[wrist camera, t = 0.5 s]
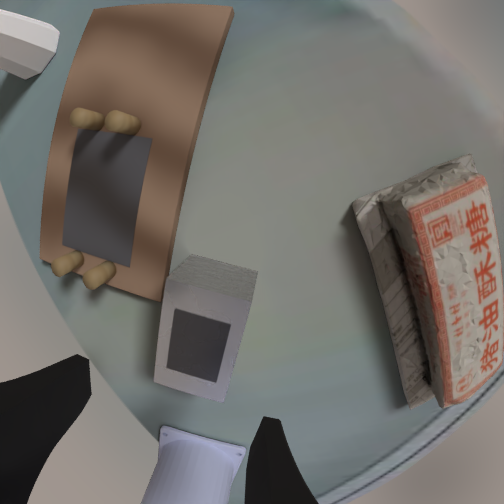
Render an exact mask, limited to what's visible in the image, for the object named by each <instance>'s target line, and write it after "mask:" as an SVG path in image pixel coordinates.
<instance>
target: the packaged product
mask: <svg viewBox="0 0 504 504" xmlns="http://www.w3.org/2000/svg"><path fill="white" fill-rule="evenodd" d="M352 206H353V210H354V213H355V217H356V220H357V223H358V227H359V229H360V231H361V234H362V236H363V238H364V241H365V243H366V246H367V248H368V251H369V255H370V258H371V262H372V266H373V270H374V274H375V278H376V282H377V286H378V289H379V292H380V296H381V299H382V303H383V307H384V311H385V315H386V319H387V323H388V327H389V332H390V335H391V339H392V344H393V348H394V351H395V356H396V360H397V364H398V368H399V373H400V377H401V381H402V386H403V391H404V394H405V397H406V399H407V402H408V405H409V408H410V410H411V409H413V408H415V407H417V406H419V405H421V404H423V403H425V402H427V401H428V400H430V399H432V398H434V397H436V399H437V401H438V404H439V406H440V407H441V408H443V409H444V408H446V407H450V406H452V405H455V404H460V403H462V402H464V401H466V400H468V399H469V398H471V397H472V396H473V395H474V394H475V392H476V391H477V390H478V389H479V388H481V387H482V386H483V385H484V384H485V382H486V381H487V380H488V379H490V377H492V376H493V375H494V374H495V373H496V371H497V370H498V369H499V368H500V366H501V365H502V361H503V351H504V295H503V279H502V268H501V258H500V251H499V242H498V237H497V229H496V224H495V219H494V212H493V207H492V204H491V198H490V193H489V189H488V185H487V182H486V179H485V177H484V176H483V175H481V174H479V173H477V170H476V167H475V163H474V160H473V157H472V154H467V155H464V156H461V157H459V158H456V159H453V160H451V161H448V162H445V163H442V164H440V165H437V166H434V167H432V168H430V169H428V170H426V171H424V172H422V173H420V174H418V175H415V176H413V177H411V178H409V179H407V180H405V181H403V182H400V183H397V184H395V185H392V186H389V187H387V188H384V189H382V190H379V191H376V192H374V193H371V194H369V195H366V196H364V197H361V198H358V199H356V200H355V201H354V202H353V205H352Z"/></svg>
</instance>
